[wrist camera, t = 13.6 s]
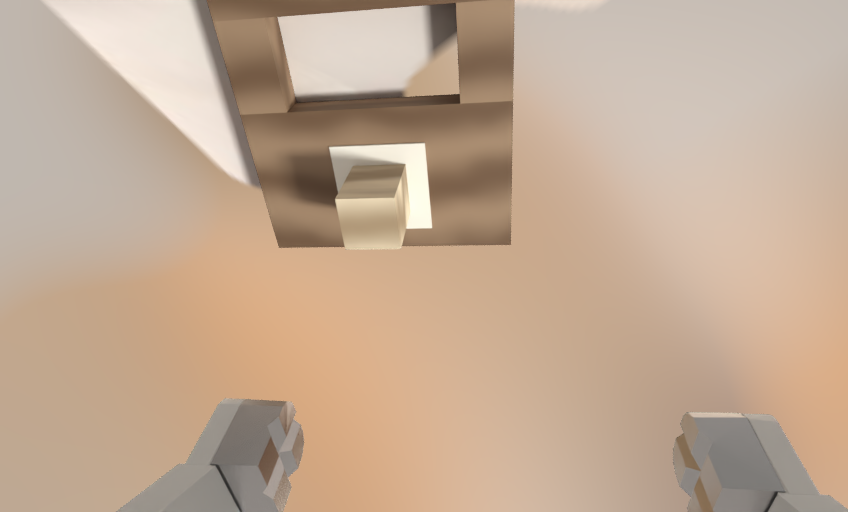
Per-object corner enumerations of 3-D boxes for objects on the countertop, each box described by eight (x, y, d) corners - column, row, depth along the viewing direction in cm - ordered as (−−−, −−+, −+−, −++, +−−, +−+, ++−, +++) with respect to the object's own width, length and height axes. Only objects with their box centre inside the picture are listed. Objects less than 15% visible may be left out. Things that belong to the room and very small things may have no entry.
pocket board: (219, -13, 38) (202, -9, 36) (513, -39, 35) (515, -36, 33) (287, 233, 50) (278, 248, 48) (509, 230, 47) (510, 245, 45)
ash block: (352, 165, 42) (334, 199, 37) (405, 164, 42) (394, 197, 37) (360, 212, 45) (345, 249, 40) (410, 211, 44) (400, 248, 39)
